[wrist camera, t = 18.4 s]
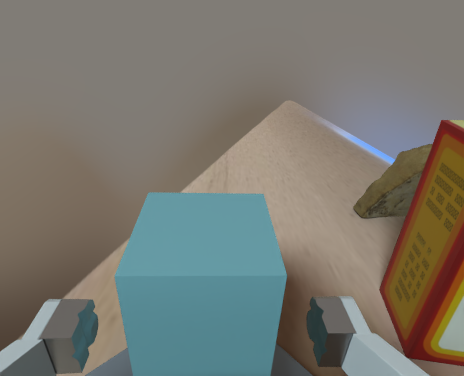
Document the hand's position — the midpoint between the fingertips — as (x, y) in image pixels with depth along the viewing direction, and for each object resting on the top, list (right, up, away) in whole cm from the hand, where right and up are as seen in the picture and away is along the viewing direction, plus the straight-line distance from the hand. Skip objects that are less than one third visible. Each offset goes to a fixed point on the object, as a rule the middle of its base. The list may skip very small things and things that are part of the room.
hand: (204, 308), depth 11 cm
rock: (+22, +1, +29) cm, 37 cm away
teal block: (0, -7, +5) cm, 9 cm away
